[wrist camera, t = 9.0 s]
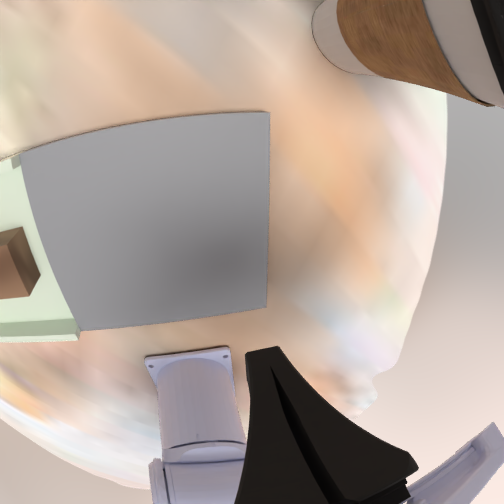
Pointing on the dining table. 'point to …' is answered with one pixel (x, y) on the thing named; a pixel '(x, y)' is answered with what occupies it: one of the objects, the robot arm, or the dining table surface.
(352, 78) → the dining table surface
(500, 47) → the coffee cup
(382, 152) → the dining table surface
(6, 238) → the walnut tile
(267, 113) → the slate board
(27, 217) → the tray
